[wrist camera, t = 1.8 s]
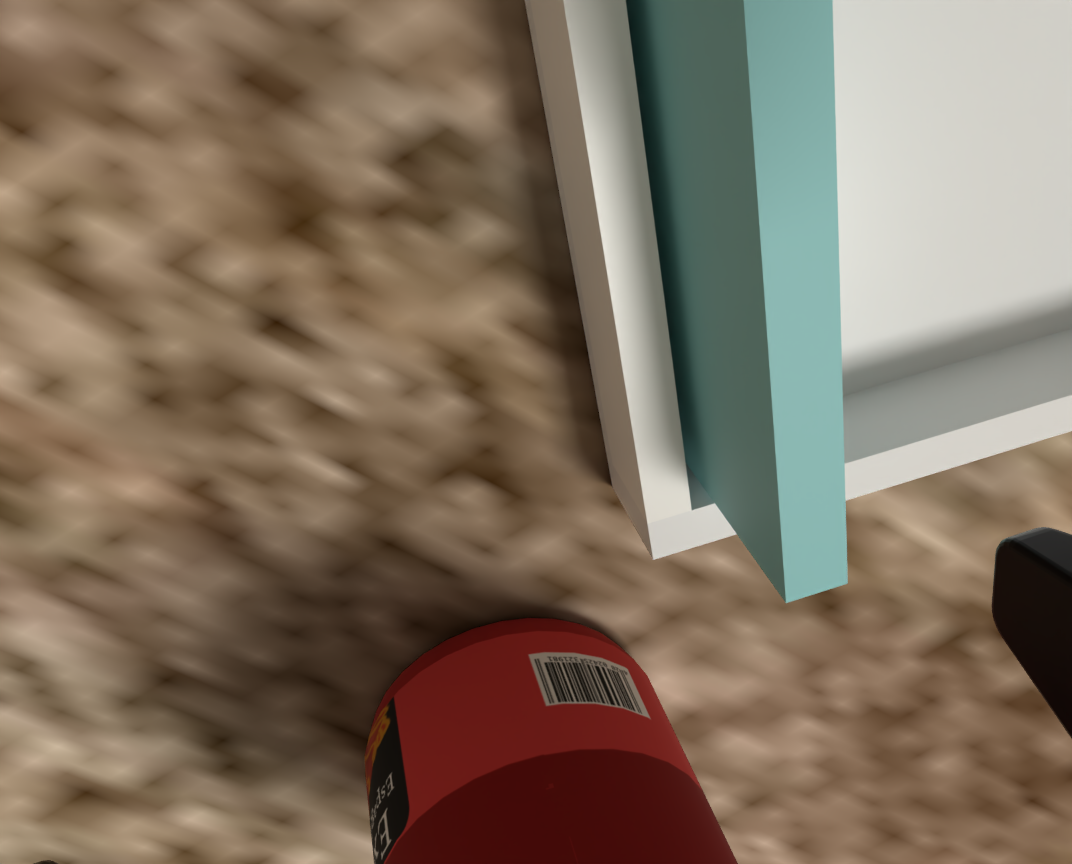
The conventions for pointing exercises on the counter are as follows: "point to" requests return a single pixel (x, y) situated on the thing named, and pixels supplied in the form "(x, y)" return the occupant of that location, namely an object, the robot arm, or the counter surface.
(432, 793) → the canned food
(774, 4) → the pusher
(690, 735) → the counter surface
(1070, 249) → the lane
